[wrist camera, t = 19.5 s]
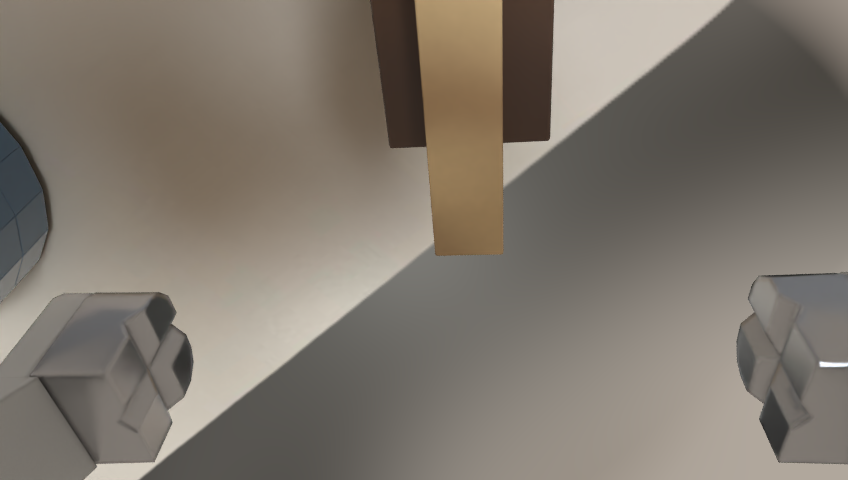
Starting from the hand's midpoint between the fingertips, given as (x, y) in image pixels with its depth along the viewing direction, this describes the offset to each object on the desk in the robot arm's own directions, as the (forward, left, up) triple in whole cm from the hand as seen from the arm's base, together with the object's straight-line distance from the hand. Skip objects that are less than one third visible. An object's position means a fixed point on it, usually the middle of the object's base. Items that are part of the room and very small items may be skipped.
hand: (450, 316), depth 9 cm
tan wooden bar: (0, 0, -11) cm, 11 cm away
